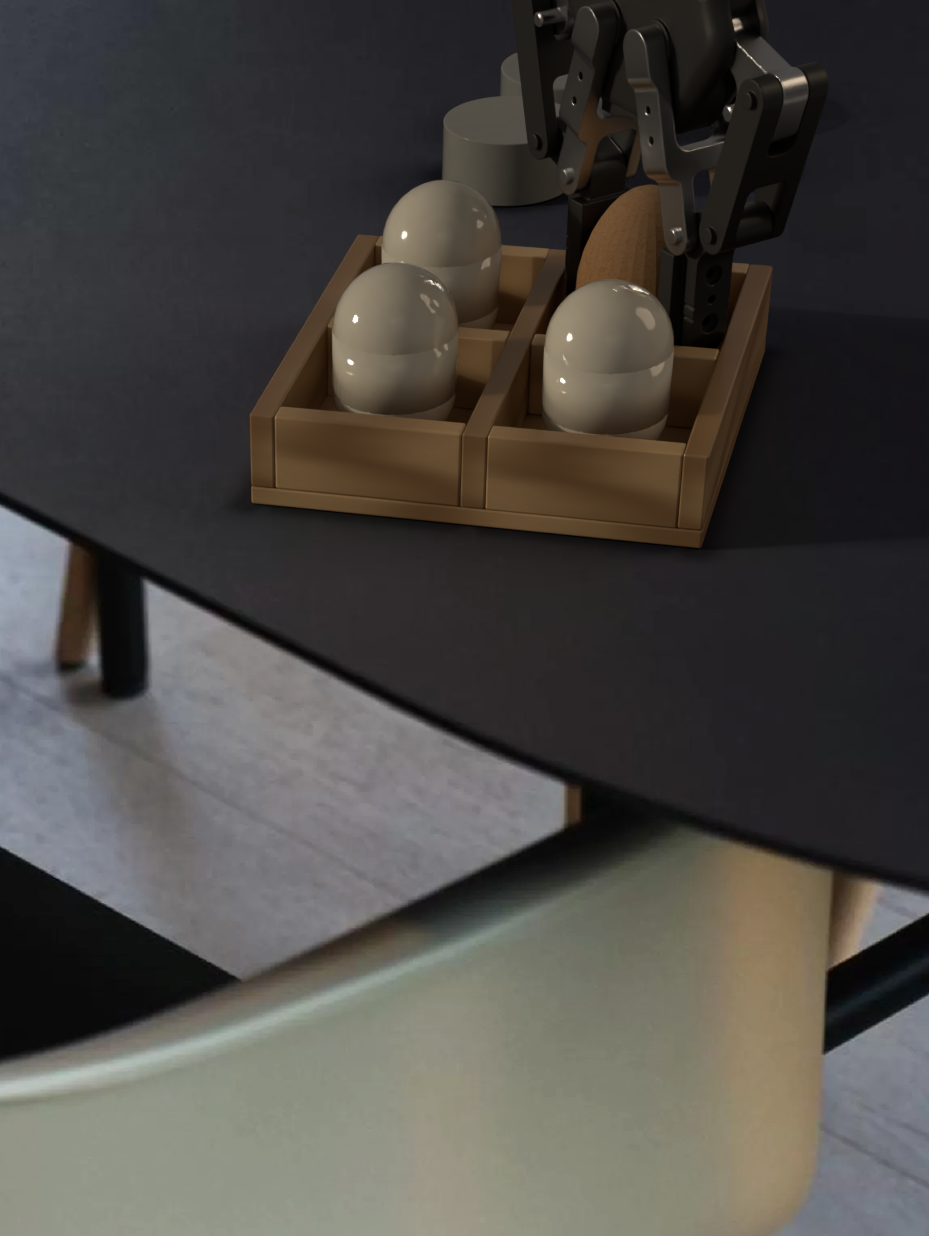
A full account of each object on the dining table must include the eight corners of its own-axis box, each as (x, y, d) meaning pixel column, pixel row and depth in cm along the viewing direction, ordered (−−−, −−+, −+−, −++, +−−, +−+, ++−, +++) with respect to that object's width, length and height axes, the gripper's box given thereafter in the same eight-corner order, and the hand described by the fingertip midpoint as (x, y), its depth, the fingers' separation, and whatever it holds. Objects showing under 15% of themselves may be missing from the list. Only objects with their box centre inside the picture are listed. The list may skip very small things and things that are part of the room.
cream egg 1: (508, 336, 101) (515, 165, 97) (484, 386, 98) (490, 212, 94) (395, 327, 102) (397, 157, 98) (368, 376, 99) (369, 203, 95)
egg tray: (764, 351, 100) (773, 265, 98) (701, 549, 90) (709, 456, 88) (357, 318, 104) (357, 233, 102) (251, 504, 93) (249, 413, 91)
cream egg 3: (673, 442, 94) (688, 262, 90) (653, 499, 91) (667, 316, 87) (551, 430, 95) (560, 253, 91) (527, 486, 92) (535, 305, 88)
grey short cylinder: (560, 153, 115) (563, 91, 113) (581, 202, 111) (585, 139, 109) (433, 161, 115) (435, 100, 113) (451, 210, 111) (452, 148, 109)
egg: (624, 323, 100) (635, 150, 96) (732, 357, 98) (748, 181, 94) (544, 368, 98) (552, 192, 94) (653, 404, 95) (666, 225, 91)
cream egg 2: (467, 423, 96) (472, 246, 92) (440, 478, 93) (445, 298, 89) (348, 412, 97) (349, 237, 93) (319, 466, 94) (318, 288, 90)
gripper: (939, -192, 82) (868, 378, 93) (642, -296, 92) (610, 231, 103) (723, -143, 80) (676, 436, 91) (441, -255, 90) (430, 280, 101)
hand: (641, 324), depth 97 cm, fingers closed on egg, 4 cm apart
